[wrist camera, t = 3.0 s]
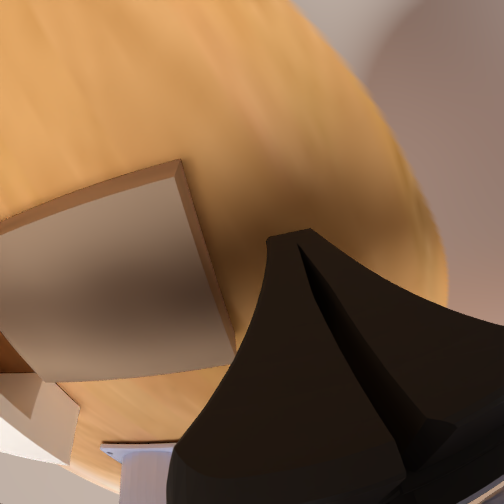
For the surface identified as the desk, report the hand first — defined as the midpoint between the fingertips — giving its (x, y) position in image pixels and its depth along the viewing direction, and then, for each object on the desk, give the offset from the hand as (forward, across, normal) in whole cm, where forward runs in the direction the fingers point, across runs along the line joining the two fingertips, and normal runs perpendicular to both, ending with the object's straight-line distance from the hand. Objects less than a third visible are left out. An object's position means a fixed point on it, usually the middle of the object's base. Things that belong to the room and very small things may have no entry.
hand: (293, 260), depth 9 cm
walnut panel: (+1, +7, 0) cm, 7 cm away
